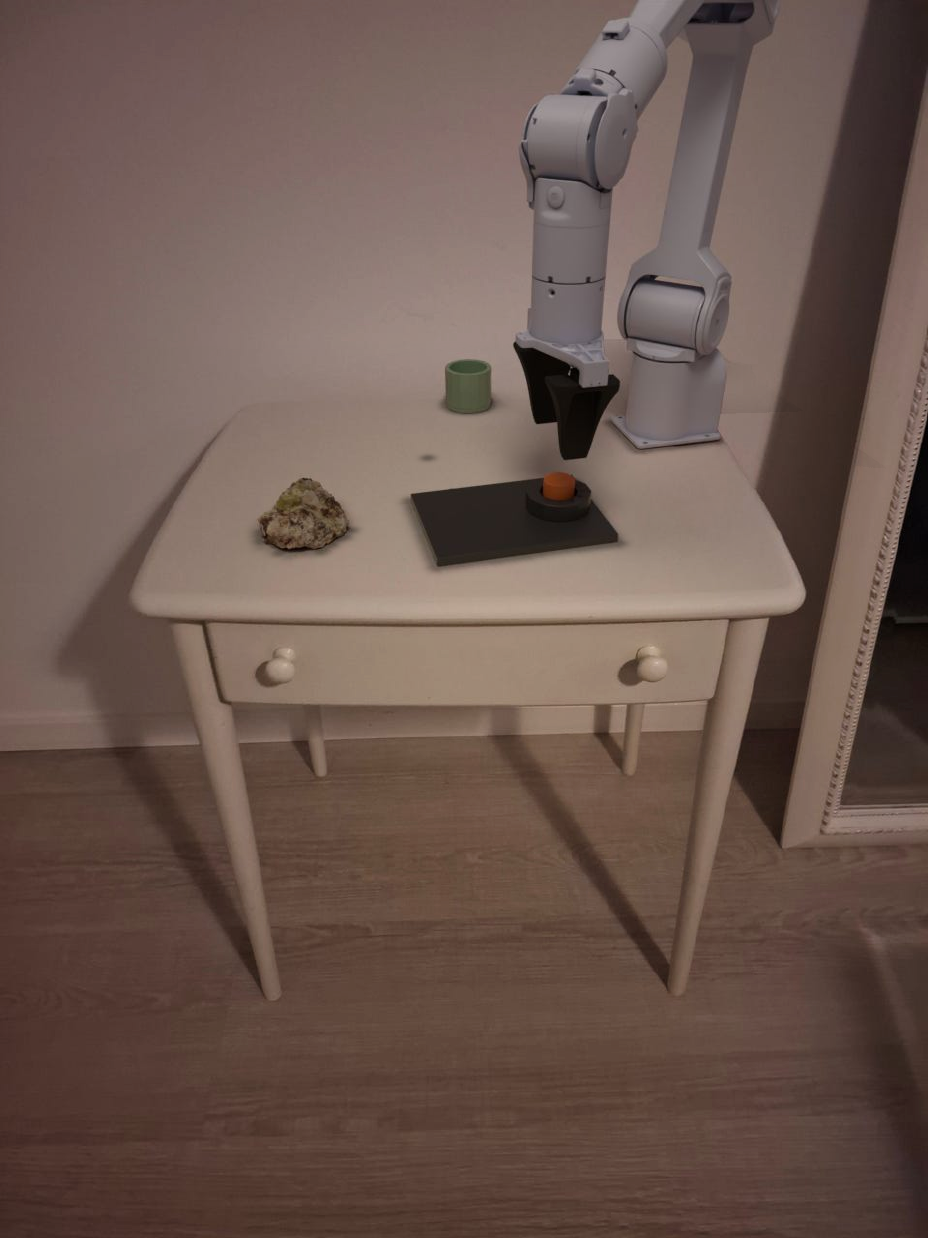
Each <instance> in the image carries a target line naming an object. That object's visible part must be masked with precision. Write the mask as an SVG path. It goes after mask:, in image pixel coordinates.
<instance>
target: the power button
mask: <svg viewBox="0 0 928 1238" xmlns="http://www.w3.org/2000/svg"><path fill="white" fill-rule="evenodd" d="M572 475H573V474H572ZM572 475H570V473H567V472H561V471H559V472H550V473H548V474H546V475H545V476H544V477H543V478H544V481H543V496H544V497H546V498H549V499H553V500H567V499H571V498H573V496H574V490H575V479H576V477H575V476H574V475H573V476H574V477H575V478H574V477H573V476H572Z"/></svg>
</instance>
